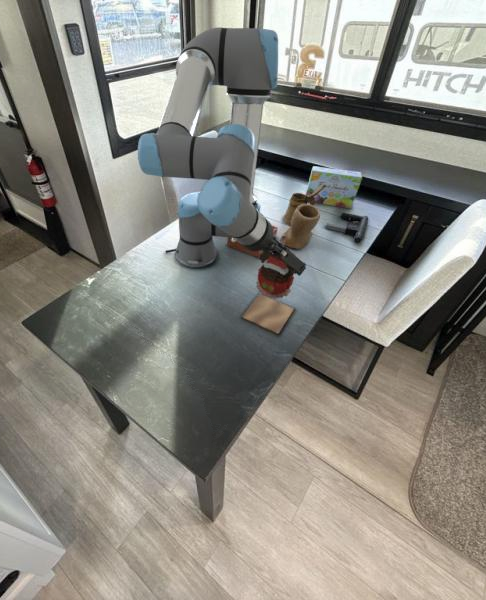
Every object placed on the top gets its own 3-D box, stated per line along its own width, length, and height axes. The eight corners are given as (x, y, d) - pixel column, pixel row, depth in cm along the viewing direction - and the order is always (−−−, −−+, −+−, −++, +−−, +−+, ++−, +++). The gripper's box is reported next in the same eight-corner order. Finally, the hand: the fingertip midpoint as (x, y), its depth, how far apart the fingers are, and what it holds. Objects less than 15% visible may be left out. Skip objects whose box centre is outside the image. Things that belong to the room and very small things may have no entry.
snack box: (304, 202, 148) (312, 170, 137) (305, 196, 152) (312, 165, 141) (351, 209, 144) (362, 176, 133) (350, 203, 148) (362, 171, 137)
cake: (296, 287, 90) (312, 233, 77) (283, 306, 85) (297, 251, 72) (263, 273, 94) (273, 220, 82) (248, 290, 89) (256, 236, 76)
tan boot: (304, 255, 118) (314, 219, 108) (275, 244, 123) (282, 209, 112) (319, 237, 127) (329, 202, 116) (292, 227, 132) (300, 193, 121)
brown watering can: (311, 230, 130) (323, 189, 118) (280, 222, 135) (288, 181, 122) (316, 220, 136) (328, 180, 123) (286, 213, 140) (295, 173, 128)
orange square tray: (227, 245, 122) (227, 234, 118) (245, 227, 131) (247, 217, 128) (258, 257, 117) (260, 246, 113) (275, 237, 126) (277, 227, 123)
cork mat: (241, 317, 95) (241, 316, 95) (259, 294, 102) (259, 293, 102) (278, 334, 91) (278, 333, 90) (293, 309, 98) (294, 308, 97)
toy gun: (323, 229, 126) (365, 238, 121) (333, 208, 139) (372, 215, 133) (321, 237, 129) (363, 246, 123) (332, 215, 141) (370, 222, 136)
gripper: (207, 222, 73) (249, 252, 91) (279, 270, 61) (311, 295, 79) (226, 194, 72) (264, 231, 90) (303, 238, 59) (330, 270, 78)
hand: (286, 261), depth 84 cm, fingers closed on cake, 10 cm apart
